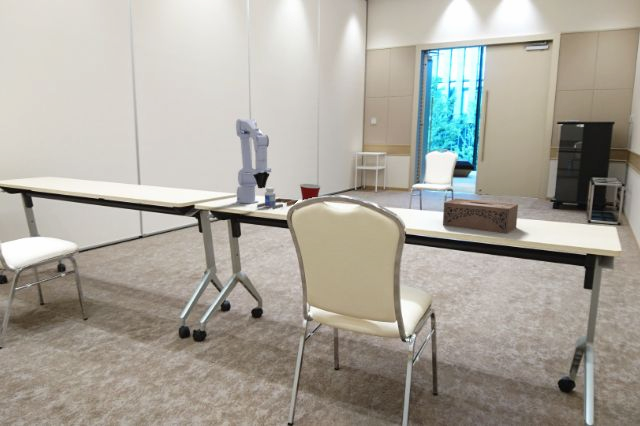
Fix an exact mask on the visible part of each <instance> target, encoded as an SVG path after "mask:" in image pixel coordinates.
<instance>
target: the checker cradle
mask: <svg viewBox="0 0 640 426" xmlns="http://www.w3.org/2000/svg"><path fill="white" fill-rule="evenodd" d="M256 206H257V208H262V207H265V202H262V203H258V204H257V205H256ZM283 207H284V204H283V203H278V204H276V205H275V206H273V207H272V209H274V210H275V209H278V208H283Z"/></svg>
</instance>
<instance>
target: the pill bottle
mask: <svg viewBox="0 0 640 426" xmlns="http://www.w3.org/2000/svg"><path fill="white" fill-rule="evenodd" d="M265 188H266V189H265V190H266V191H265V192H264V203H265V206H264V207H265V208H273V206H275V205H277V203H276V199H277V198H276V197H277V196H276V192H275V188H274V187H265Z"/></svg>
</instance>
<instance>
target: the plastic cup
mask: <svg viewBox="0 0 640 426" xmlns="http://www.w3.org/2000/svg"><path fill="white" fill-rule="evenodd" d="M299 187H300V192H301V197H302V201H303V200H304V199H308V198H312V197H319V193H320V190H321V188H322V186H321V185H319V184H314V183H300V184H299Z"/></svg>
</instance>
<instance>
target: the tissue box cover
mask: <svg viewBox="0 0 640 426" xmlns="http://www.w3.org/2000/svg"><path fill="white" fill-rule="evenodd" d="M518 209H519V203H511V202H510V203H507V202H496V201H488V200H487V201H486V200H474V199H465V198H454V199H450V200H448V201H444V202H443V213H442V214H443V216H442V226H443V225H445V227H454V228H460V229H468V230H475V231H476V230H477V231H485V232H491V233H500V234H509V233H510V232H512V231H514V230H515V229H516V228H517V223H518V222H517V220H518Z"/></svg>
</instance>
